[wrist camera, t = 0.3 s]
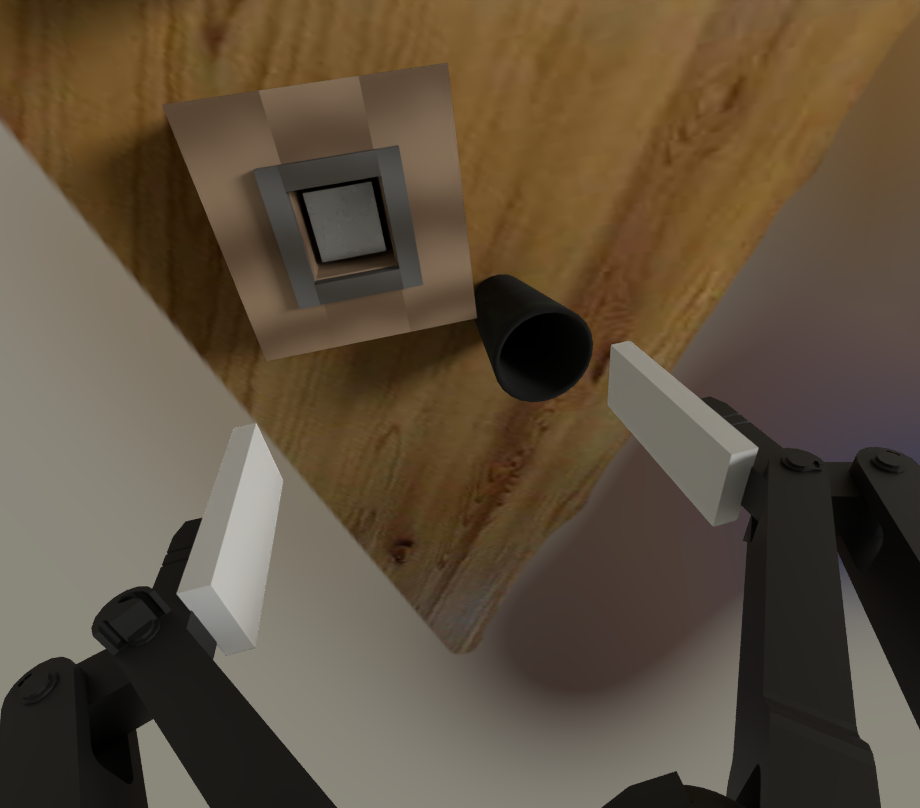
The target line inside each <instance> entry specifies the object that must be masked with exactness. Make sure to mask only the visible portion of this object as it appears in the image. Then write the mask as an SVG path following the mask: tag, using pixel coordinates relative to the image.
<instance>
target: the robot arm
mask: <svg viewBox="0 0 920 808" xmlns="http://www.w3.org/2000/svg"><path fill="white" fill-rule="evenodd" d="M608 406H609V407H610V408H611V410H612V411H613V412H614V413H615V414H616V415H617V417H618V418H619V419H620V420H621V421H622V422H623V423H624V425H625V426H626V427H627V428H628V429H629V430H630V432H631V433H632V434H633V435H634V436H635V437H636V438H637V440H638V441H639V442H640V443H641V444H642V445H643V446H644V448H645V449H646V450H647V451H648V452H649V453H650V454H651V456H652V457H653V458H654V459H655V460H656V461H657V462H658V464H659V465H660V466H661V467H662V468H663V469H664V471H665V472H666V473H667V474H668V475H669V476H670V477H671V479H672V480H673V481H674V482H675V483H676V484H677V486H678V487H679V488H680V489H681V490H682V491H683V492H684V494H685V495H686V496H687V497H688V498H689V499H690V501H691V502H692V503H693V504H694V505H695V506H696V508H697V509H698V510H699V511H700V512H701V513H702V514H703V516H704V517H705V518H706V519H707V520H708V521H709V523H710V524H711V525H712V526H717V525H721V524H725V523H728V522H732V521H736V520H737V519H738V515H739V512H740V509H741V505H742V506H743V507H744V508H745V509H746V510H747V511H748V512H749V513H750V514H751V517H750V520H749V523H748V527H747V529H746V533H745V536H744V539H743V541H746V542H747V554H746V569H745V585H744V601H743V615H742V631H741V647H740V662H739V678H738V692H737V709H736V723H735V739H734V753H733V761H732V766H731V771H730V776H729V780H728V786H727V794H726V796H724V795H722V794H719V793H717V792H714V791H711V790H708V789H705V788H701V787H696V786H691V785H683V784H682V782H681V779H680V777H679V775H678V773H677V771H675V772H672V773H669V774H666V775H663V776H660V777H657V778H654V779H650V780H647V781H644V782H641V783H638V784H635V785H632V786H629V787H628V788H626V789H625V790H624V791H623V792H621V793H620V794H619V795H617V796H616V797H615V798H613V799H612V800H611V801H609V802H608V803H607V804H606V805H604V806H603V807H602V808H881V804H880V796H879V789H878V781H877V774H876V766H875V762H874V757H873V753H872V751H871V749H870V746H869V744H868V743H866V742H865V741H863V740H862V739H860V737H859V735H858V732H857V727H856V718H855V709H854V699H853V690H852V681H851V672H850V664H849V654H848V645H847V636H846V627H845V618H844V609H843V600H842V591H841V581H840V573H839V563H838V554H837V551H838V553H839V556H840V558H841V560H842V562H843V564H844V567H845V568H846V571H847V573H848V575H849V577H850V580H851V581H852V584H853V586H854V588H855V590H856V593H857V594H858V597H859V599H860V601H861V603H862V605H863V607H864V610H865V612H866V614H867V616H868V618H869V621H870V623H871V625H872V627H873V629H874V631H875V634H876V636H877V638H878V640H879V642H880V645H881V647H882V649H883V651H884V653H885V655H886V658H887V660H888V662H889V664H890V666H891V668H892V671H893V673H894V675H895V677H896V679H897V681H898V684H899V686H900V688H901V690H902V692H903V694H904V696H905V699H906V701H907V703H908V705H909V707H910V710H911V712H912V714H913V716H914V718H915V720H916V723H917V725H918V726H919V729H920V465H918V464H917V463H916V462H915V461H914V460H913V459H912V458H910V457H908V456H906V455H904V454H902V453H900V452H897V451H894V450H891V449H886V448H880V447H870V448H865V449H862V450H860V451H859V452H858V453H857V455H856V457H855V459H854V461H853V462H823V461H822V460H821V459H820V458H819V457H817V456H815V455H813V454H811V453H809V452H806V451H803V450H799V449H793V448H782V447H781V446H780V445H778V444H777V443H776V442H774V441H773V440H772V439H771V438H769V437H768V436H767V435H766V434H764V433H763V432H762V431H761V430H759V429H758V428H757V427H755V426H754V425H753V424H752V423H750V422H749V423H748V421H747V419H745V418H744V417H743V416H742V415H738V412H736V411H735V410H734V409H732V408H731V407H730V406H729V405H728V404H726V403H724V402H721V401H719V400H717V399H715V398H712V397H706V398H702V399H699V398H698V397H697V396H696V395H695V394H693V393H692V392H691V391H690V390H689V389H687V388H686V387H685V386H684V385H683V384H681V383H680V382H679V381H678V380H677V379H675V378H674V377H673V376H672V375H671V374H669V373H668V372H667V371H666V370H665V369H663V368H662V367H661V366H660V365H659V364H658V363H656V362H655V361H654V360H653V359H652V358H650V357H649V356H648V355H647V354H646V353H644V352H643V351H642V350H641V349H640V348H638V347H637V346H636V345H635V344H634V343H632V342H631V341H627V342H622V343H617V344H613V345H611V354H610V371H609V389H608ZM282 484H283V479H282V477H281V475H280V473H279V470H278V468H277V466H276V464H275V462H274V460H273V458H272V456H271V453H270V451H269V449H268V447H267V445H266V443H265V441H264V438H263V436H262V434H261V432H260V430H259V428H258V426H257V424H256V423H254V424H249V425H245V426H240V427H236V428H234V429H233V432H232V435H231V437H230V440H229V444H228V446H227V449H226V452H225V455H224V458H223V461H222V463H221V466H220V470H219V473H218V475H217V478H216V481H215V484H214V487H213V489H212V493H211V495H210V498H209V501H208V504H207V507H206V510H205V513H204V516H203V518H199V519H195V520H190V521H186V522H185V523H184V524H183V526H182V527H181V528H180V529H179V530H178V531H177V533H176V534H175V535H174V536H173V538H172V541H171V543H170V546H169V548H168V551H167V555H166V556H165V559H164V561H163V564H162V565H163V567H161V568H160V571H159V574H158V576H157V578H156V581H155V583H154V586H153V588H152V589H151V588H150V587H148V586H145V587H144V586H142V587H135V588H132V589H129V590H126V591H124V592H123V593H121V594H119V595H118V596H116V597H114V598H113V599H112V600H111V601H110V602H108V603H107V604H106V605H105V606H104V607H103V608H102V609H101V611H100V612H99V613H98V615H97V616H96V617H95V619H94V622H93V625H92V634H93V637H94V638H95V639H97V640H98V641H99V642H100V643H101V644H102V645H103V646H104V647H105V648H106V649H105V650H103V651H101V652H99V653H97V654H95V655H93V656H92V657H89V658H87V659H86V660H84V661H82V662H80V663H78V664H75V663H74V662H73V661H71V660H70V659H68V658H65V657H58V658H51V659H49V660H47V661H45V662H43V663H40V664H38V665H37V666H36V667H34V668H33V669H31V670H30V671H28V672H27V673H26V674H24V675H23V677H21V678H20V679H19V681H17V682H16V683H15V684H14V685H13V687H12V688H11V690H10V691H9V693H8V694H7V696H6V697H5V699H4V702H3V706H2V709H1V719H0V808H148V803H147V797H146V791H145V784H144V778H143V771H142V765H141V758H140V752H139V746H138V738H137V732H136V729H137V728H139V727H140V726H142V725H144V724H145V723H147V722H149V721H151V720H152V719H154V720H155V722H156V723H157V725H158V726H159V728H160V729H161V731H162V733H163V734H164V736H165V737H166V739H167V741H168V742H169V744H170V745H171V747H172V748H173V750H174V752H175V753H176V755H177V756H178V758H179V760H180V761H181V763H182V764H183V766H184V767H185V769H186V770H187V772H188V774H189V775H190V777H191V778H192V780H193V782H194V783H195V785H196V786H197V788H198V789H199V791H200V793H201V794H202V796H203V797H204V799H205V800H206V802H207V804H208V805H209V807H210V808H337V807H336V806H335V805H334V804H333V802H332V801H331V800H330V799H329V798H328V797H327V795H326V794H325V793H324V792H323V791H322V789H321V788H320V787H319V786H318V785H317V783H316V782H315V781H314V780H313V779H312V778H311V776H310V775H309V774H308V773H307V772H306V770H305V769H304V768H303V767H302V766H301V764H300V763H299V762H298V761H297V760H296V758H295V757H294V756H293V755H292V754H291V752H290V751H289V750H288V749H287V748H286V746H285V745H284V744H283V743H282V742H281V740H280V739H279V738H278V737H277V736H276V735H275V733H274V732H273V731H272V730H271V729H270V727H269V726H268V725H267V724H266V723H265V721H264V720H263V719H262V718H261V717H260V716H259V714H258V713H257V712H256V711H255V710H254V708H253V707H252V706H251V705H250V704H249V702H248V701H247V700H246V699H245V698H244V697H243V695H242V694H241V693H240V692H239V690H238V689H237V688H236V687H235V686H234V684H233V683H232V682H231V681H230V680H229V679H228V677H227V676H226V675H225V674H224V673H223V671H222V670H221V669H220V668H219V667H218V666H217V664H216V663H215V662H214V661H213V658H214V654H215V649H216V645H217V646H218V647H219V648H220V649H221V651H222V652H223V653H224V654H225V656H227V655H231V654H235V653H239V652H243V651H246V650H250V649H254V648H255V647H256V641H257V635H258V628H259V623H260V617H261V611H262V605H263V599H264V593H265V587H266V581H267V575H268V569H269V563H270V557H271V551H272V545H273V539H274V533H275V527H276V521H277V515H278V509H279V503H280V497H281V491H282Z"/></svg>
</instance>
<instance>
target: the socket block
mask: <svg viewBox="0 0 920 808" xmlns="http://www.w3.org/2000/svg"><path fill="white" fill-rule="evenodd" d="M162 106H163V109H164V111H165V113H166V116H167V118H168V121H169V123H170V126H171V128H172V131H173V133H174V136H175V138H176V140H177V143H178V145H179V148H180V150H181V153H182V155H183V158H184V160H185V163H186V165H187V168H188V170H189V172H190V175H191V177H192V180H193V182H194V185H195V187H196V190H197V192H198V195H199V197H200V199H201V202H202V204H203V207H204V209H205V212H206V214H207V217H208V219H209V222H210V224H211V226H212V229H213V231H214V234H215V236H216V239H217V241H218V244H219V246H220V249H221V251H222V253H223V256H224V258H225V261H226V263H227V266H228V268H229V271H230V273H231V276H232V278H233V280H234V283H235V285H236V288H237V290H238V293H239V295H240V298H241V300H242V303H243V305H244V308H245V310H246V312H247V315H248V317H249V320H250V322H251V325H252V327H253V330H254V332H255V335H256V337H257V339H258V342H259V344H260V347H261V349H262V352H263V354H264V357H265V359H266V361H270V360H275V359H280V358H285V357H289V356H294V355H299V354H304V353H309V352H314V351H319V350H324V349H329V348H334V347H338V346H343V345H348V344H353V343H358V342H363V341H368V340H373V339H378V338H383V337H387V336H392V335H397V334H402V333H407V332H412V331H417V330H422V329H427V328H432V327H436V326H441V325H446V324H451V323H456V322H461V321H466V320H471V319H476V318H477V314H476V305H475V297H474V288H473V279H472V270H471V262H470V253H469V244H468V236H467V227H466V218H465V210H464V201H463V192H462V184H461V175H460V166H459V158H458V149H457V140H456V131H455V123H454V114H453V105H452V97H451V88H450V79H449V71H448V63H443V64H436V65H429V66H423V67H416V68H409V69H402V70H395V71H389V72H382V73H375V74H368V75H361V76H355V77H348V78H341V79H334V80H328V81H321V82H314V83H307V84H300V85H294V86H287V87H280V88H273V89H266V90H260V91H253V92H246V93H239V94H232V95H226V96H219V97H212V98H205V99H199V100H192V101H185V102H178V103H171V104H165V105H162ZM371 177H376V180H377V185H378V190H379V195H380V200H381V205H382V209H383V214H384V219H385V224H386V229H387V233H388V238H384V243H385V248H386V251H382V252H377V253H371V254H366V255H361V256H355V257H350V258H344V259H339V260H334V261H328V262H322V259H321V255H320V252H319V248H318V245H317V241H316V238H315V235H314V231H313V228H312V224H311V221H310V217H309V214H308V211H307V207H306V204H305V200H304V197H303V192H305V191H304V189H306V188H312V187H318V186H324V185H330V184H336V183H342V182H348V181H354V180H360V179H366V178H371Z"/></svg>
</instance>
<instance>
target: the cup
mask: <svg viewBox="0 0 920 808" xmlns="http://www.w3.org/2000/svg"><path fill="white" fill-rule="evenodd" d="M474 297H475V305H476V314H477V318H476V319H475V322H476V325H477V327H478V330H479V333H480V335H481V338H482V341H483V344H484V346H485V349H486V352H487V354H488V357H489V360H490V363H491V365H492V368H493V371H494V373H495V376H496V379H497V381H498V383H499V384H500V386H501V387H502V389H503V390H504V391H505V392H507V393H508V394H509V395H510V396H512V397H514V398H517V399H519V400H522V401H528V402H540V401H546V400H549V399H553V398H555V397H557V396H559V395H561V394H563V393H565V392H566V391H568V390H569V389H570V388H571V387H573V386H574V385H575V384H576V383H577V382H578V381H579V379H580V378H581V377H582V376H583V374H584V373H585V371H586V369H587V367H588V366H589V363H590V360H591V357H592V351H593V340H592V334H591V331H590V329H589V327H588V325H587V323H586V322H585V321H584V320H583V319H582V318H581V317H580V316H579V315H578V314H576V313H574V312H573V311H571V310H569V309H568V308H566V307H564V306H562V305H561V304H559V303H557V302H556V301H554V300H552V299H551V298H549V297H547V296H546V295H544V294H542V293H540V292H539V291H537V290H535V289H534V288H532V287H530V286H529V285H527V284H525V283H523V282H522V281H520V280H518V279H517V278H515V277H513V276H510V275H496V276H492V277H490V278H488V279H486V280H485V281H484V282H483V283H481V284H480V285H479V287H478V288H477V289H476V291H475V293H474Z"/></svg>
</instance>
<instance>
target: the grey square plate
mask: <svg viewBox="0 0 920 808" xmlns="http://www.w3.org/2000/svg"><path fill="white" fill-rule="evenodd" d="M303 197H304V200H305V204H306V207H307V211H308V214H309V217H310V221H311V224H312V228H313V231H314V235H315V238H316V241H317V245H318V248H319V252H320V255H321V259H322V262H328V261H334V260H339V259H344V258H350V257H355V256H361V255H366V254H371V253H377V252H382V251H386V248H385V243H384V238H383V234H382V229H381V224H380V219H379V215H378V210H377V205H376V201H375V196H374V191H373V187H372V182H371V180H369V181H364V182H358V183H352V184H346V185H340V186H334V187H328V188H322V189H317V190H311V191H305V192H303Z"/></svg>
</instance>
